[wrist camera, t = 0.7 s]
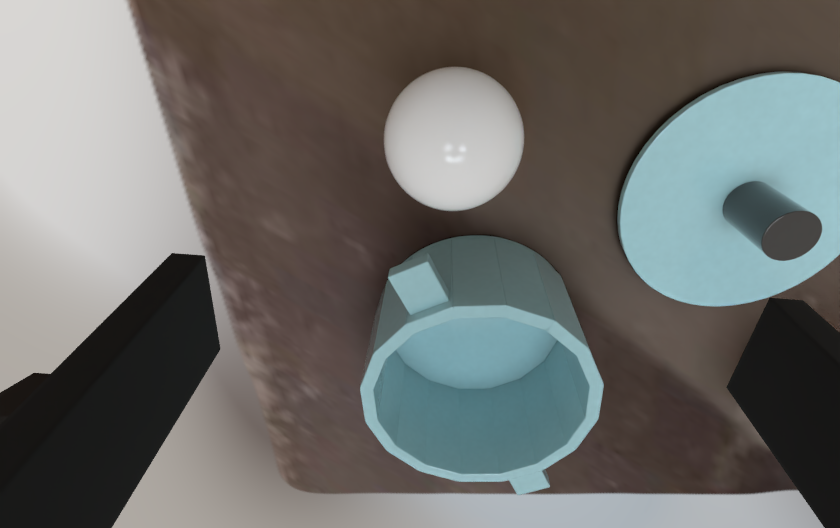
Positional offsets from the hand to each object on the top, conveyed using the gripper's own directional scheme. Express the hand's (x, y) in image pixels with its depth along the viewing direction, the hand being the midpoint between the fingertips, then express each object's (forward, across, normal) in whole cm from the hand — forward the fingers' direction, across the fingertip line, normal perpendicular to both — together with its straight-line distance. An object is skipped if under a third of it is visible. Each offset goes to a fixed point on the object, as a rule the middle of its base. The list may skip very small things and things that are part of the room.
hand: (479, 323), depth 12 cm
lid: (+20, +18, -4) cm, 27 cm away
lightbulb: (+21, 0, +1) cm, 21 cm away
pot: (+21, +3, -15) cm, 26 cm away
